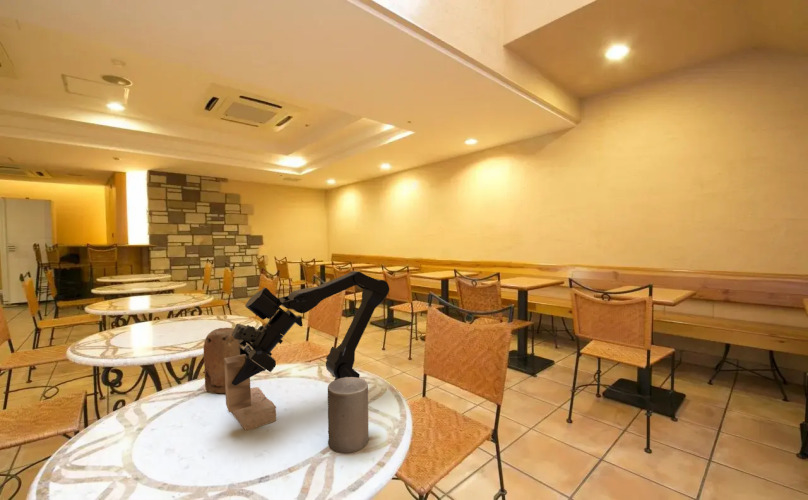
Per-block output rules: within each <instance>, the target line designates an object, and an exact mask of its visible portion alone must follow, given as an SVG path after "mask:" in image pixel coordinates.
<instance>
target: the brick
mask: <svg viewBox="0 0 808 500" xmlns="http://www.w3.org/2000/svg"><path fill="white" fill-rule="evenodd" d="M250 390H251V406H249V407H246V408H242V409H239V410H235V411H232V412H231V413H232V415H233V416H234V417H235V418H236V420H237V421H238V423H240V425H241V426H242V428H244V430H245V431H251V430H254V429H256V428H258V427H262V426H265V425H269V424H271V423H273V422H276V421H277V419H276V418H277V406H276V405H275V404H274V402H273V401H272V400H270V399H268V397H266V395H265V393H264V392H263V391H262V390H261V389H260V387H258V386H255V387H250Z"/></svg>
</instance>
